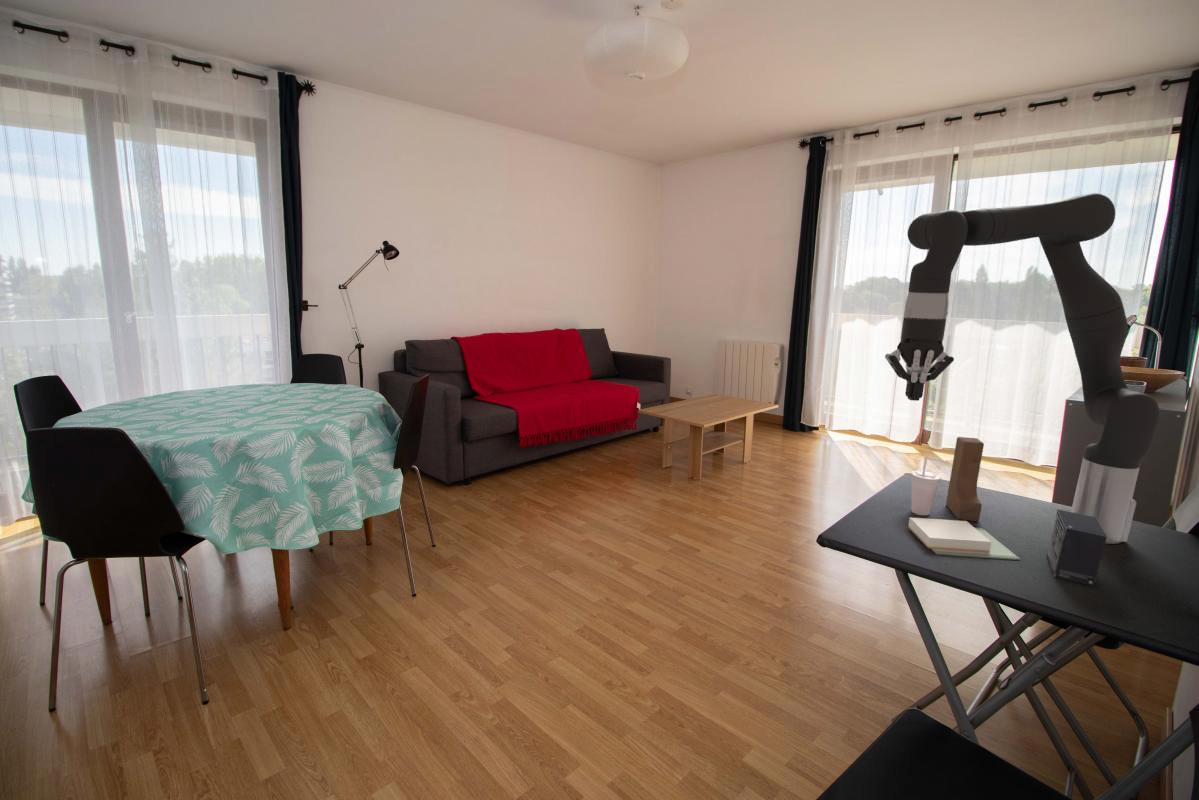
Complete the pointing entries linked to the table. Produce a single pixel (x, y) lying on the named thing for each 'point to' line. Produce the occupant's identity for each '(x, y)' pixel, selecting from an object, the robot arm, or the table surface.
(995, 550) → the mat
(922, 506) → the smoothie
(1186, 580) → the table surface
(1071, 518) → the small box
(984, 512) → the table surface
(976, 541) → the tile
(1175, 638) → the table surface
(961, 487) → the wooden block
